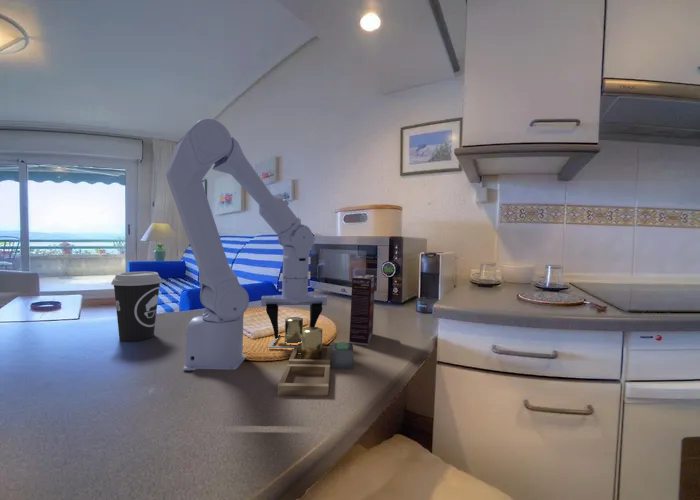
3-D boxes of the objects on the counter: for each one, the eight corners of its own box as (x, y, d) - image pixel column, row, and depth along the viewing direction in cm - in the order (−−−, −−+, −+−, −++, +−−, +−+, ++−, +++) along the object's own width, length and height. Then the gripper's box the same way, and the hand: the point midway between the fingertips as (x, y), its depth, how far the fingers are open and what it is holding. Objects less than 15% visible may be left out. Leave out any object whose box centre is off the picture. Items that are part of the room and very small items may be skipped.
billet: (282, 348, 64) (283, 321, 64) (286, 341, 68) (286, 316, 68) (301, 348, 64) (301, 321, 64) (303, 342, 68) (304, 317, 68)
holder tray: (276, 399, 43) (276, 386, 43) (294, 354, 60) (294, 345, 60) (329, 400, 44) (329, 387, 44) (332, 355, 61) (332, 346, 61)
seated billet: (299, 364, 54) (300, 332, 54) (302, 355, 58) (303, 326, 58) (320, 364, 55) (321, 333, 54) (322, 356, 59) (323, 327, 58)
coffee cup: (152, 328, 74) (152, 270, 74) (168, 336, 68) (169, 274, 68) (104, 337, 66) (105, 273, 66) (118, 347, 61) (119, 277, 60)
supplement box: (369, 348, 66) (371, 278, 65) (348, 345, 67) (350, 277, 66) (373, 336, 74) (376, 274, 74) (355, 334, 75) (357, 273, 75)
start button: (335, 367, 54) (336, 346, 54) (335, 362, 56) (336, 342, 56) (348, 367, 54) (348, 346, 54) (347, 362, 56) (348, 342, 56)
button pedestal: (331, 371, 53) (331, 350, 53) (331, 362, 57) (332, 342, 57) (352, 371, 53) (353, 350, 53) (351, 362, 57) (352, 343, 57)
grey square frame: (268, 352, 61) (268, 346, 61) (277, 337, 70) (277, 332, 70) (311, 353, 61) (311, 347, 61) (315, 338, 71) (315, 333, 70)
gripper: (260, 279, 60) (258, 344, 60) (329, 279, 63) (327, 341, 63) (263, 275, 67) (262, 333, 67) (325, 275, 70) (323, 331, 70)
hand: (293, 336), depth 66 cm, fingers open, 7 cm apart
